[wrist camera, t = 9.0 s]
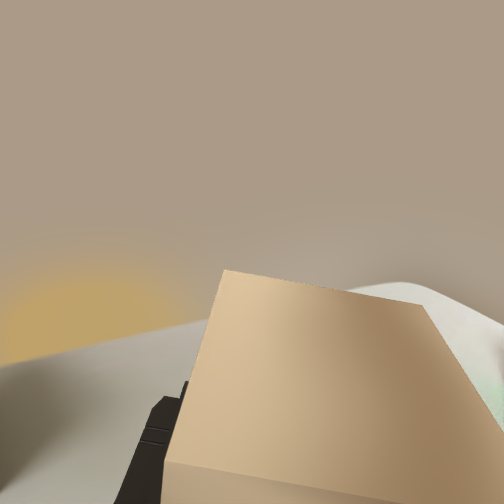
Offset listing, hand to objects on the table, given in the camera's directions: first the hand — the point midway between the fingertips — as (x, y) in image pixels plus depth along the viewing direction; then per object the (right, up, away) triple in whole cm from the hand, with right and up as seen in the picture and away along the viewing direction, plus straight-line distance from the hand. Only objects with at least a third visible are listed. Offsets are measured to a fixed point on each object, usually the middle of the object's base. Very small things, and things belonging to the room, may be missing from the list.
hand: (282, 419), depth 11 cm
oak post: (-1, -7, +1) cm, 8 cm away
